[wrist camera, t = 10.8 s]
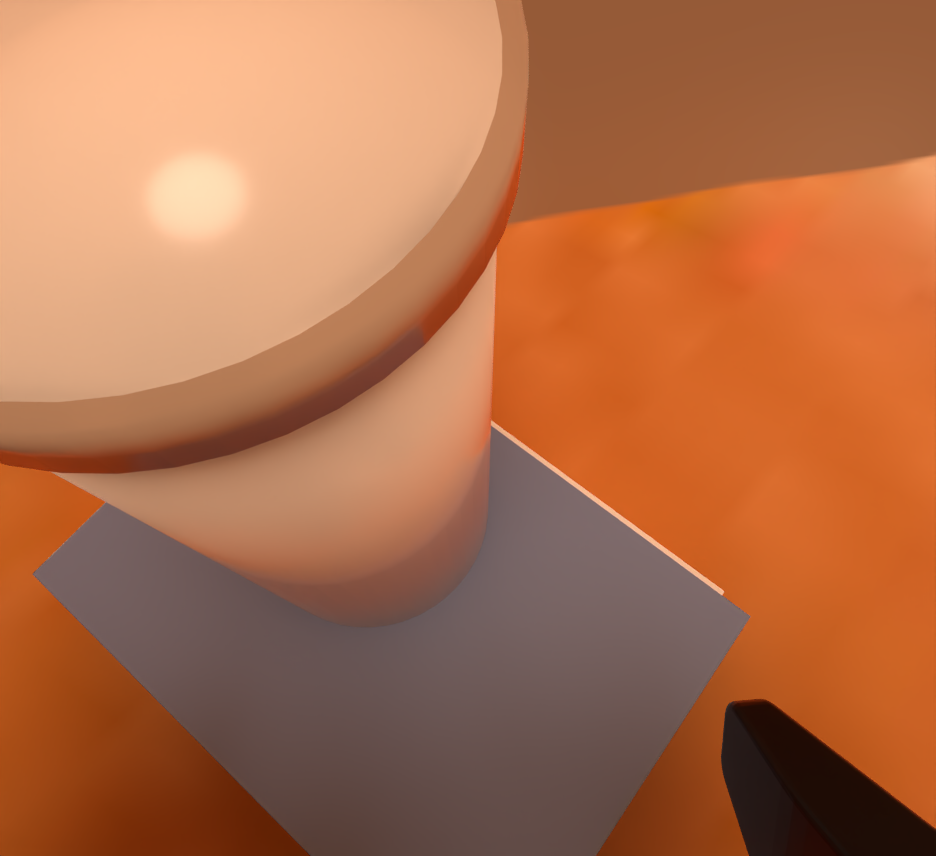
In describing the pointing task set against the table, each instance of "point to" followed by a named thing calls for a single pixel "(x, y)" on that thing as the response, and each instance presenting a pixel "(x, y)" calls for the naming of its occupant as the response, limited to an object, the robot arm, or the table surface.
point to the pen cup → (264, 277)
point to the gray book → (425, 675)
